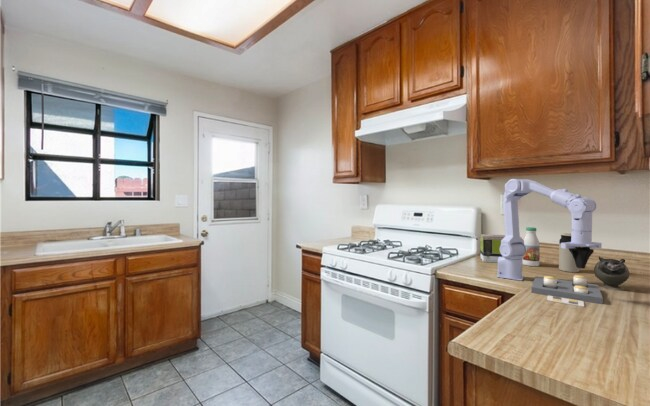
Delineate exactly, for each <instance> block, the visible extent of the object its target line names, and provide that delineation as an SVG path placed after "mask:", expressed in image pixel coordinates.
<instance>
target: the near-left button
mask: <svg viewBox="0 0 650 406" xmlns="http://www.w3.org/2000/svg"><path fill="white" fill-rule="evenodd" d="M543 277H544V286H546V287H552V288H555V287H557V279H558V278H557V277H555V276H552V275H544V276H543ZM556 278H557V279H556Z"/></svg>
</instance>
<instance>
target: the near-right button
mask: <svg viewBox="0 0 650 406" xmlns="http://www.w3.org/2000/svg"><path fill="white" fill-rule="evenodd" d="M574 292H580V293H587V294H588V288H587V287H585V286H580V285H575V286H574Z"/></svg>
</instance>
